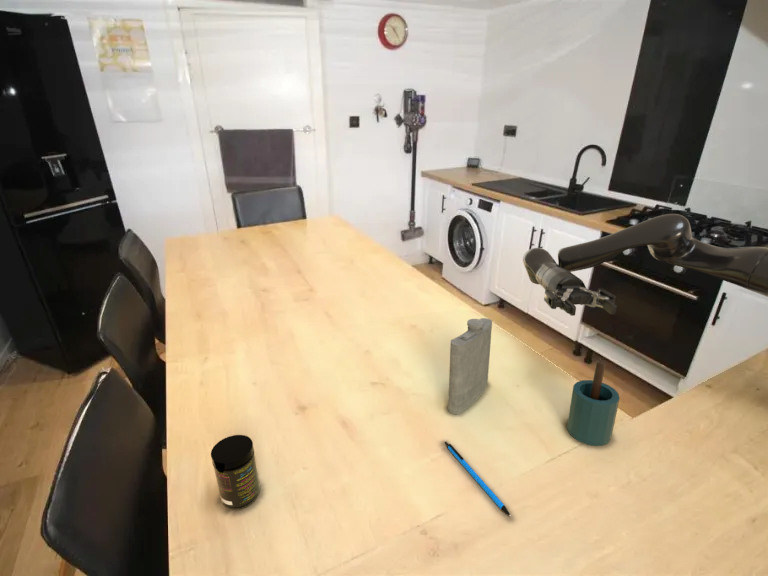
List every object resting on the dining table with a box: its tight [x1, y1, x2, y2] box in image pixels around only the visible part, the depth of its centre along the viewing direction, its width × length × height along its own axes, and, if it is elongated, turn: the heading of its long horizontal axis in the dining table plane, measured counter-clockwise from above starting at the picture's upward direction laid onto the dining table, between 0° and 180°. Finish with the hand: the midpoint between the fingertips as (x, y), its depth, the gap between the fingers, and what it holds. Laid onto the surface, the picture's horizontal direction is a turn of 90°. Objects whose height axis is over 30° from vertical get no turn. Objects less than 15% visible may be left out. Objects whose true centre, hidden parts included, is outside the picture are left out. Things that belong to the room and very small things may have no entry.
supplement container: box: [210, 434, 261, 510], centre depth 71 cm, size 7×7×10 cm
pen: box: [444, 441, 511, 517], centre depth 75 cm, size 1×19×1 cm, turn 25°
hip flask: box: [447, 317, 493, 415], centre depth 94 cm, size 16×4×20 cm, turn 141°
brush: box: [590, 359, 607, 400], centre depth 82 cm, size 4×4×16 cm
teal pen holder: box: [566, 379, 620, 447], centre depth 83 cm, size 8×8×10 cm
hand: (594, 311), depth 87 cm, fingers open, 8 cm apart
